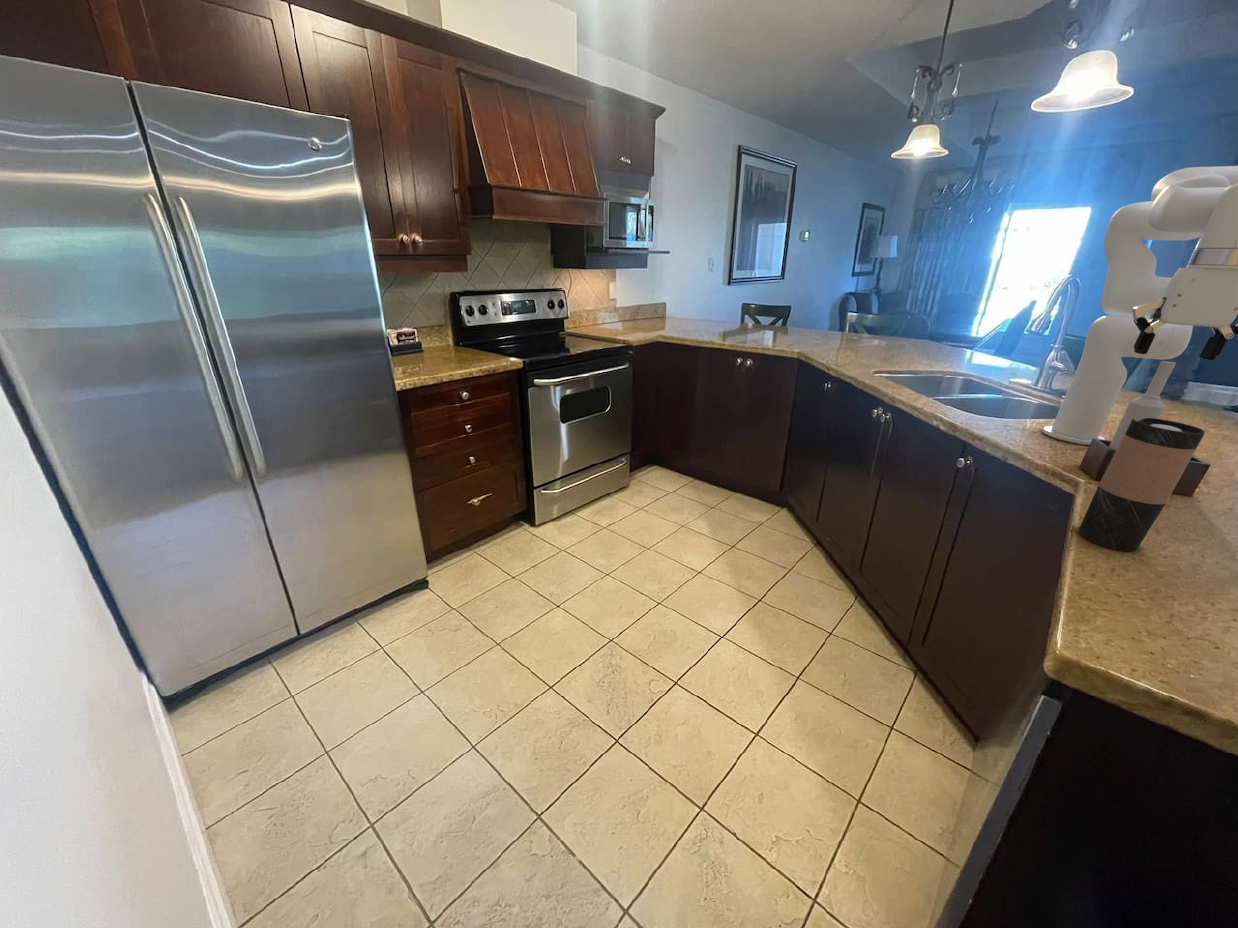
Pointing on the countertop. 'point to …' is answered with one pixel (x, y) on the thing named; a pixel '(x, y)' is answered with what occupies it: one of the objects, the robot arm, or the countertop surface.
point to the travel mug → (1139, 482)
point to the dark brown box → (1103, 454)
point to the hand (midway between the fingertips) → (1172, 356)
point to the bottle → (1144, 403)
